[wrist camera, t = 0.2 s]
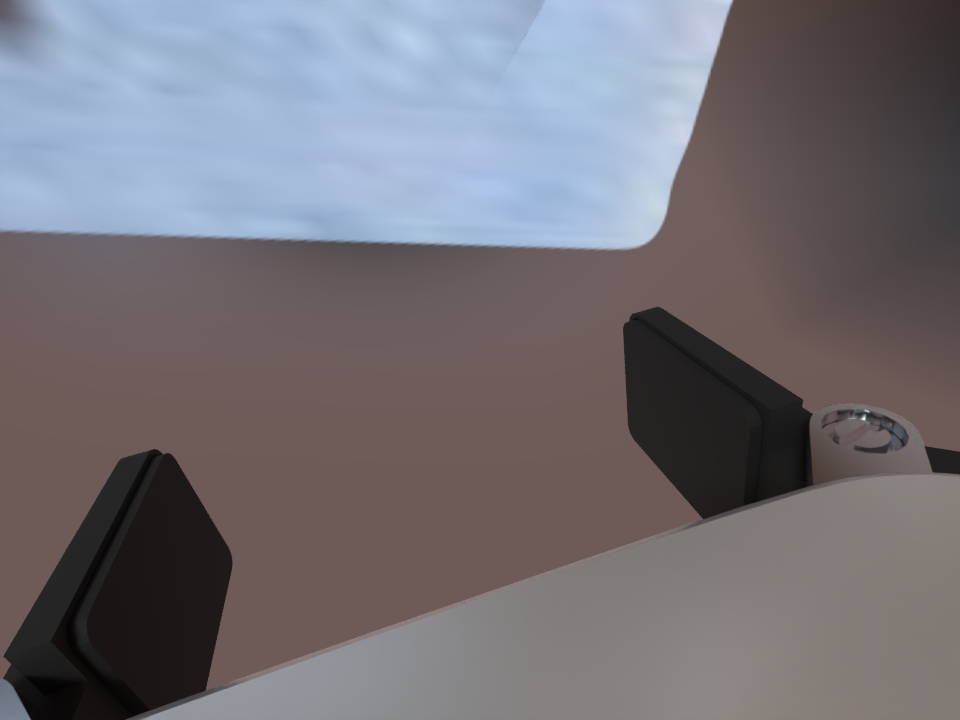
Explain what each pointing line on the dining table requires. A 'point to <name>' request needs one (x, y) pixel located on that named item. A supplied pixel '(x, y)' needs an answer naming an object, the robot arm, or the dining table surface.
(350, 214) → the dining table surface
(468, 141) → the dining table surface
